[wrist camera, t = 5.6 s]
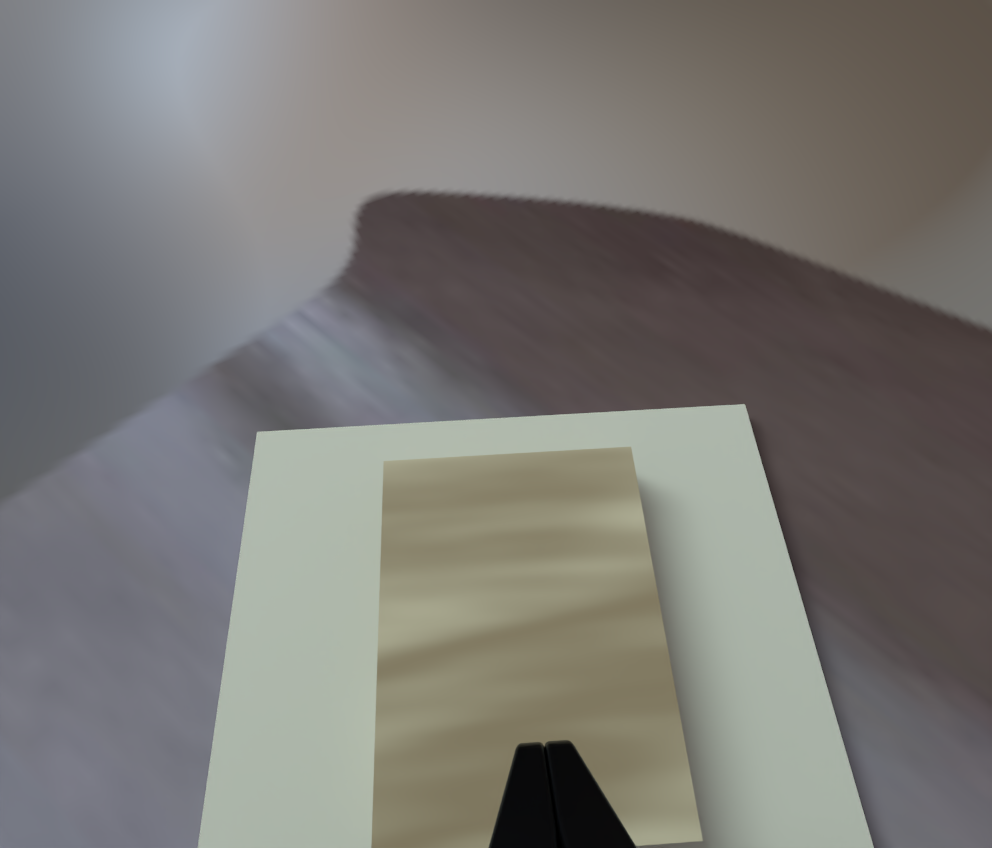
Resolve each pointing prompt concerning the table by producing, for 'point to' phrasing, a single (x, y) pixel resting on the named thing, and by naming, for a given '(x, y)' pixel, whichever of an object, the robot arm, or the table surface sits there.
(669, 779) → the tile
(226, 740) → the mat
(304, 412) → the table surface
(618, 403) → the table surface
